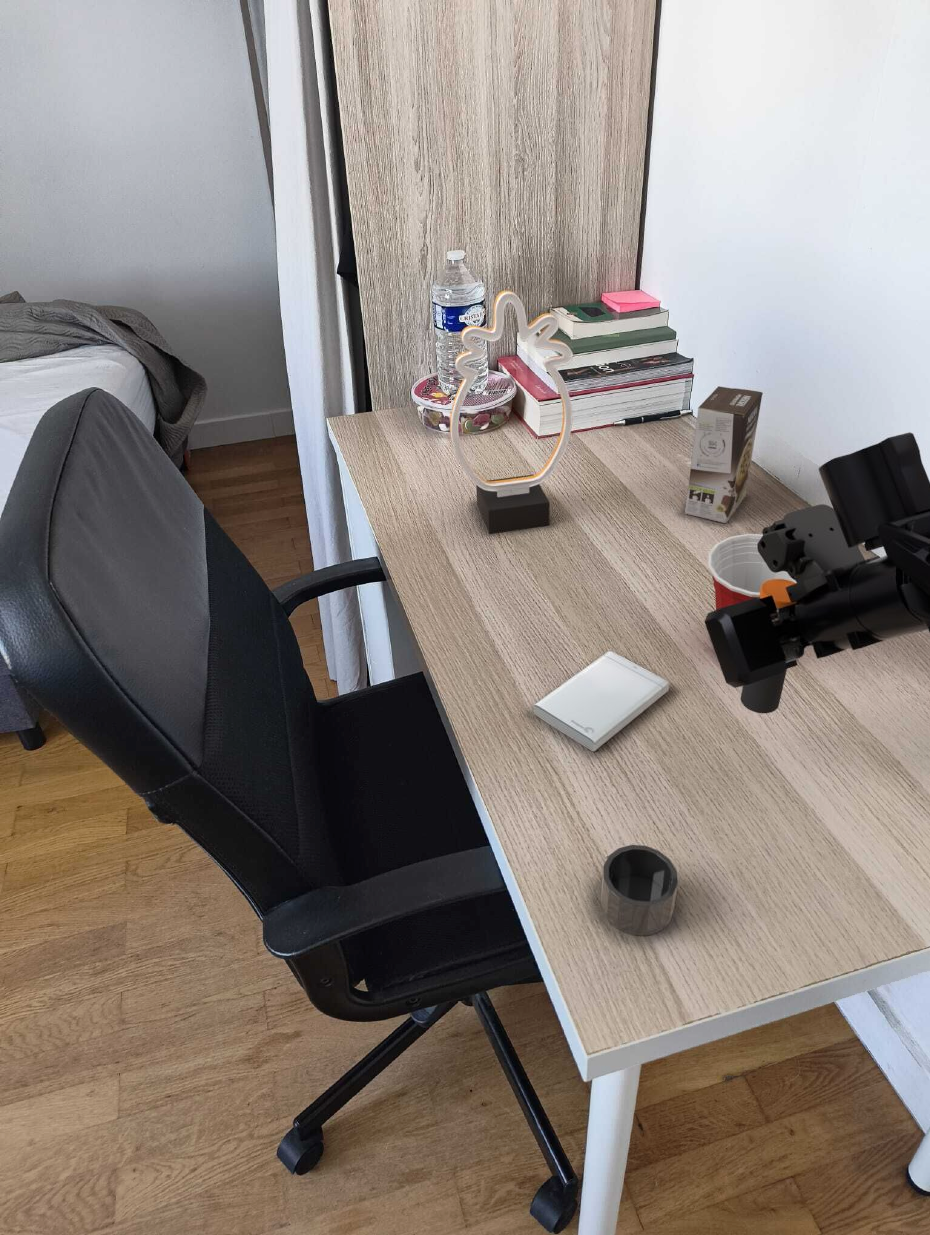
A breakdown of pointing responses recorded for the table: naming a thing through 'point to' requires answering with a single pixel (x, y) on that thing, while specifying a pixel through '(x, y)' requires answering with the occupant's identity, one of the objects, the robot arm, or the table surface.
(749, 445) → the coffee box
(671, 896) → the socket
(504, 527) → the lamp
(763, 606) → the robot arm
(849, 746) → the table surface
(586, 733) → the hard drive
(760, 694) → the orange-capped black cylinder
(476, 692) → the table surface
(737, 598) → the plastic cup
